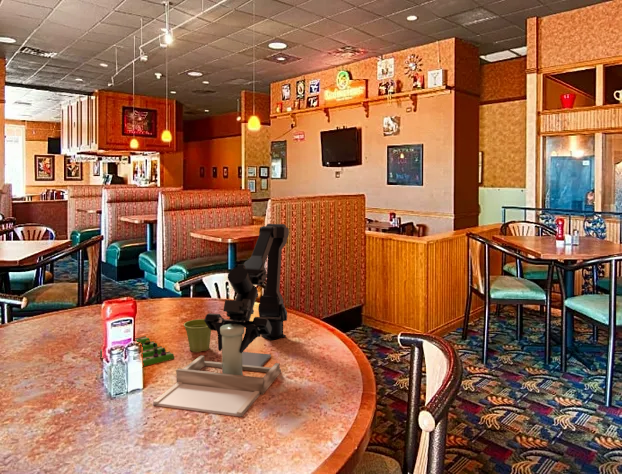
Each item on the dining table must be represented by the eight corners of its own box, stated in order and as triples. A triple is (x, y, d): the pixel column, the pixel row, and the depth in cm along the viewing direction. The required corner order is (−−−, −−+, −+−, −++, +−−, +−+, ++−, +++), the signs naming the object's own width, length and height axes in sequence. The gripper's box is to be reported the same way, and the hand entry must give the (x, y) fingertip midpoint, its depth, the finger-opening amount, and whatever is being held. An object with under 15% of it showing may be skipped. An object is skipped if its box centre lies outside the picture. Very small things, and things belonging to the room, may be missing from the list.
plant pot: (207, 355, 155) (206, 328, 154) (179, 353, 157) (178, 326, 156) (218, 345, 165) (218, 320, 164) (192, 343, 166) (191, 318, 165)
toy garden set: (175, 360, 153) (174, 345, 152) (111, 376, 140) (110, 360, 140) (145, 341, 170) (144, 328, 170) (86, 353, 158) (85, 339, 157)
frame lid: (178, 385, 133) (178, 381, 133) (259, 395, 127) (259, 391, 127) (153, 405, 121) (153, 401, 121) (241, 416, 116) (241, 412, 116)
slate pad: (237, 353, 157) (237, 351, 157) (270, 356, 154) (270, 354, 154) (223, 366, 146) (223, 363, 146) (258, 370, 144) (258, 367, 144)
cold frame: (202, 363, 148) (202, 350, 148) (280, 372, 142) (280, 358, 142) (176, 384, 134) (176, 370, 133) (262, 394, 128) (262, 379, 127)
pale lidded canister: (236, 369, 144) (236, 322, 142) (248, 376, 139) (248, 328, 137) (216, 375, 140) (215, 326, 138) (228, 382, 135) (228, 332, 133)
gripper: (206, 285, 143) (188, 334, 133) (268, 289, 138) (254, 340, 129) (218, 305, 151) (202, 353, 142) (277, 310, 147) (264, 359, 137)
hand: (229, 351), depth 137 cm, fingers closed on pale lidded canister, 6 cm apart
